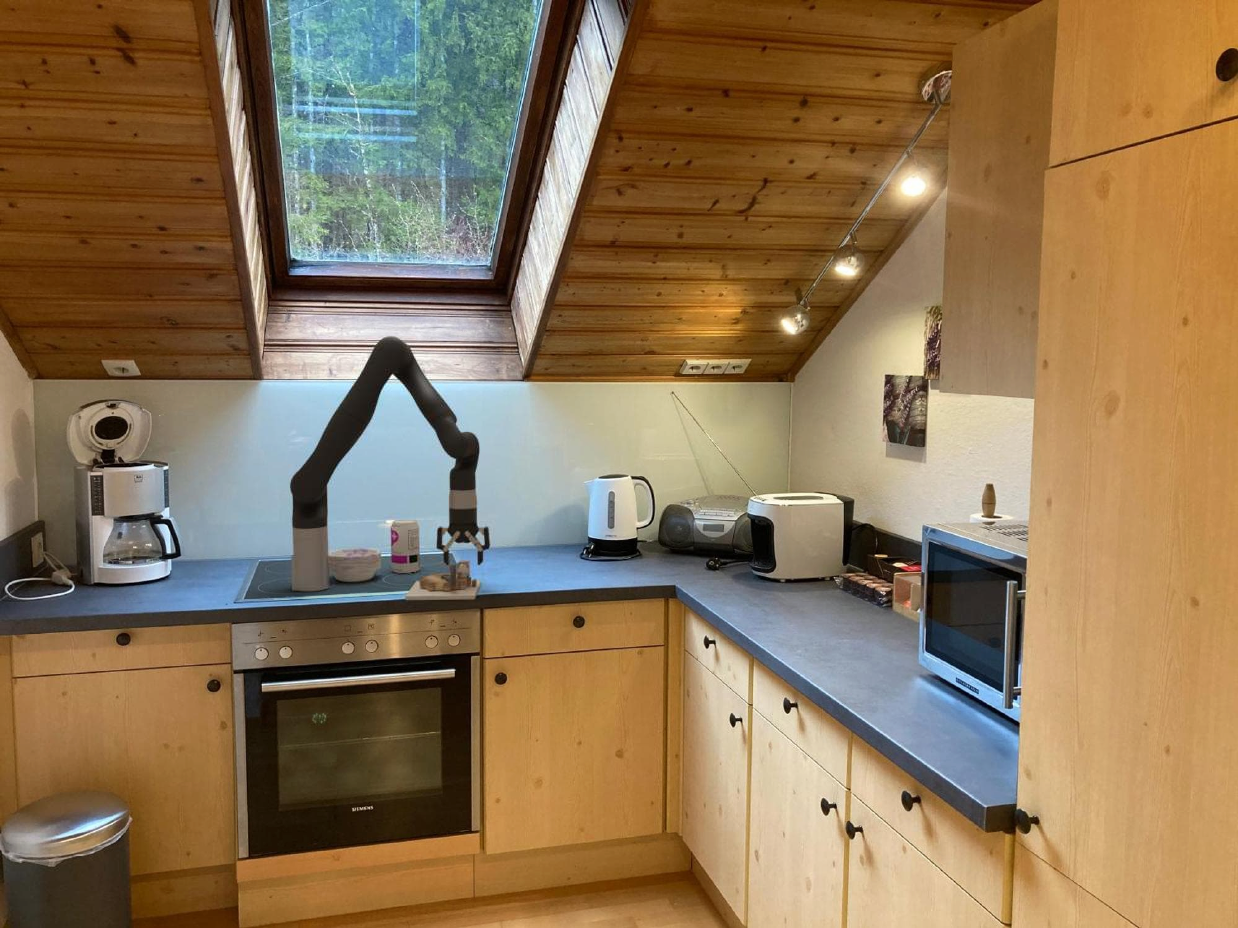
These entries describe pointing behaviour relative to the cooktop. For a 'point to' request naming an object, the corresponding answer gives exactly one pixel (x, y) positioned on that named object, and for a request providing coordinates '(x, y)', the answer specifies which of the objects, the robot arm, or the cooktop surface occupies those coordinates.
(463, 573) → the link
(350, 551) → the paper bowls
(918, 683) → the cooktop surface
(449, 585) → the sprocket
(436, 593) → the plate
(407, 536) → the supplement can
